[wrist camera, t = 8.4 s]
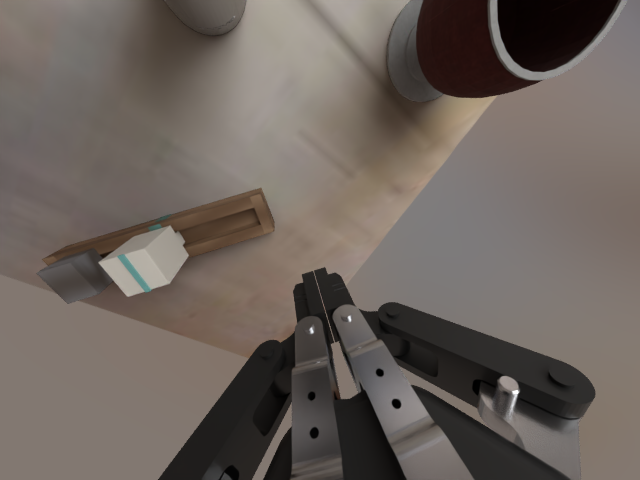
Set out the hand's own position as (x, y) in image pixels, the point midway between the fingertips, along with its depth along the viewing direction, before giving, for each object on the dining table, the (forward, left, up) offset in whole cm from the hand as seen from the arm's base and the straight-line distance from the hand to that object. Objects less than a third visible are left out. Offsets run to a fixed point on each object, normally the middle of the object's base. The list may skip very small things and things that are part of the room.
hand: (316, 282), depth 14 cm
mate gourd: (-14, +24, -25) cm, 37 cm away
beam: (+1, -19, -25) cm, 31 cm away
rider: (+1, -19, -23) cm, 30 cm away
